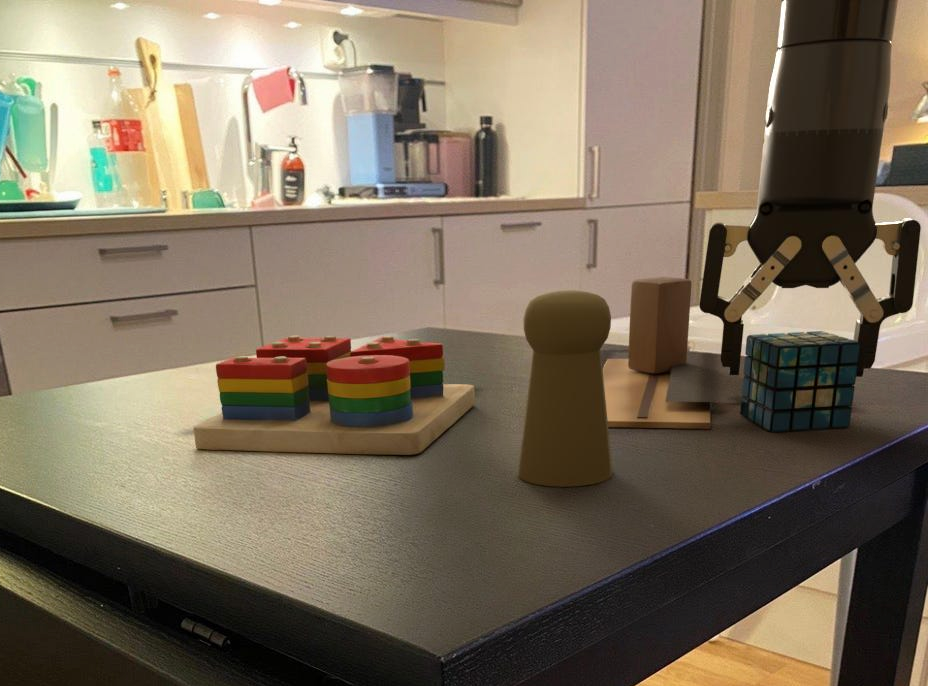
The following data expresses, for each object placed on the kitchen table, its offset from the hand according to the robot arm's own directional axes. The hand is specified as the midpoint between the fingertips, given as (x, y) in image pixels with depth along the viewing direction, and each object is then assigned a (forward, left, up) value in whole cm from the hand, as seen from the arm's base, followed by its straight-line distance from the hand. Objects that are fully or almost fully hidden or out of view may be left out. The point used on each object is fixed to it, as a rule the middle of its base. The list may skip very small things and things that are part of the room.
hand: (793, 374), depth 72 cm
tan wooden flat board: (+11, -11, -3) cm, 16 cm away
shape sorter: (+34, +4, -4) cm, 34 cm away
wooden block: (+11, -18, -3) cm, 21 cm away
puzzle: (0, 0, -4) cm, 4 cm away
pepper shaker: (+15, +16, -4) cm, 22 cm away
